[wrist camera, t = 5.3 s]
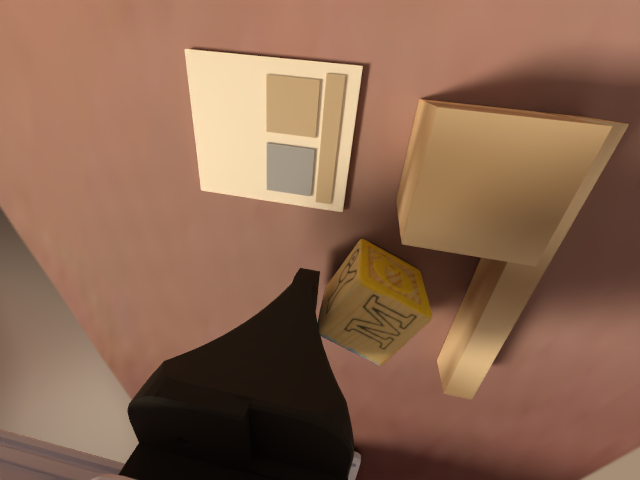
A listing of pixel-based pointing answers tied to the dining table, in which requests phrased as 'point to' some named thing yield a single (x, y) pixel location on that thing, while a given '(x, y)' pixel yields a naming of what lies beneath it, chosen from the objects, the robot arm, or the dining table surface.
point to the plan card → (273, 126)
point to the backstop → (506, 292)
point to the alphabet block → (373, 304)
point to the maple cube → (491, 178)
